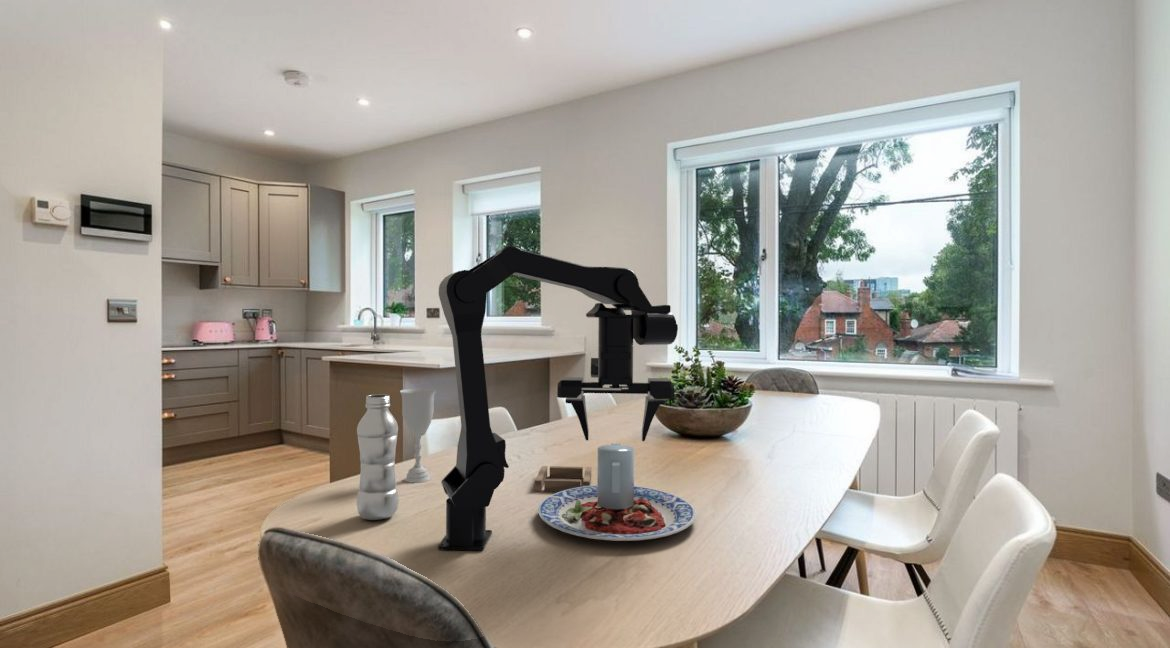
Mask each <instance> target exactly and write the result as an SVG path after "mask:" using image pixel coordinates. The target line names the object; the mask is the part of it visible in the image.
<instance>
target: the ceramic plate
mask: <svg viewBox="0 0 1170 648" xmlns="http://www.w3.org/2000/svg"><path fill="white" fill-rule="evenodd" d="M597 490H598V484H595V485H590V486H583V485H582V486H580V487H577V488H572V489H567V490H564V491H561V492H560V491H557V492H556V493H553V494H551V495H550V496H547V497H546V498H545V499H544V500H542V501H541V502H540V503H539V505H538V507H537V512H538V516H539V517H540V519H541V520H542V521H543V522H544V523H545V524H547V525H548V526H550V527H552V528H553V529H556V530H558V531H560V532H563V533H565V534H569V535H573V536H577V537H582V538H587V539H592V540H593V539H594V540H604V541H614V542H615V541H616V542H618V541H619V542H620V541H621V542H622V541H623V542H626V541H645V540H653V539H659V538H664V537H668V536H671V535H675V534H677V533H680V532H681V531H685V529H687V528H689V527H690V526H691V525H692V524H693V523H694V522H695V521H696V518H697V511H696V508H695V507H694V506H693V505H692V504H691V503H690V502H689V501H687V500H686V499H684V498H683V497H681V496H678V495H676V494H673V493H671V492H667V491H664V490H659V489H656V488H652V487H645V486H638V485H634V505H633V506H632V507H630V508H626V509H607V508H603V507H601V506H599V505H598V503H597Z"/></svg>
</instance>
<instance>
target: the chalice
mask: <svg viewBox="0 0 1170 648" xmlns="http://www.w3.org/2000/svg"><path fill="white" fill-rule="evenodd" d="M436 392H437V389H433V388H407V389H406V388H405V389H401V390H400V391H399V393H400V395H401V397H402V400H401V401H402V405H401V406H402V411H401V412H402V413H401V415H402V418H403V421H404V425H405V426H406V428H407V430H408V432H409V434H410V436H413V437H414V439H415V443H414V445H413V448H415V449H414V450H415V452H414V454H413V455H412V456H413V457H414V459H415V460H414V462H415V463H414V464H413V466H411V467H410V468H409V469H408V472H407V473H406V477H405V479H404V481H405V482H407V483H411V484H417V483H424V482H428V481H430V480H431V476H430V474H429V472H428V469H427V467H426V466H423V464H422V463H421V458H422V456H423V454H422V452H421V449H422V447H423V445H422V442H421V440H422V437H423V436H425V435H426V433H427V432H428V430H429V428H430V425H431V423H432V420H433V416H434V414H435V413H434V410H435V407H434V404H435V403H434V402H435V401H434V400H435V394H436Z"/></svg>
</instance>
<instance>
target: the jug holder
mask: <svg viewBox="0 0 1170 648" xmlns="http://www.w3.org/2000/svg"><path fill="white" fill-rule="evenodd" d="M583 470H584V467H583V466H558V465H557V466H554V465H553V466H552V465H551V466H549V478H548V466H546V465H541V467H540V468H539V471H538V474H537V476H536V477H535V479H534V491H535V492H541V491H542V490H544V492H561V491H564V490H567V489H572V488H577V487H581V479H583V481H582V484H583V485H582V487H583V486H591V483H592V482H591V481H592V466H585V470H584V472H583ZM559 478H560V479H559ZM543 487H544V489H543Z"/></svg>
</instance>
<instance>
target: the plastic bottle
mask: <svg viewBox="0 0 1170 648" xmlns="http://www.w3.org/2000/svg"><path fill="white" fill-rule="evenodd" d="M365 399H366V400H365V409H367V410H366V411H365V414H364V415H363V416H362V417H361V419H360V420H359V422H358V424H357V427H356V435H357V442H358V448H359V449H358V450H359V461H360V463H359V464H360V475H359V487H358V489H359V490H358V492H357V497H356V508H357V513H358V515H359V516H360V517H361V518H362V519H363V520H368V521H369V520H370V521H376V520H383V519H384V520H385V519H388V518H390V517H393V516H394V515H395V514H396V512H397V510H398V508H399V500H400V499H399V498H400V496H399V492H398V487H397V479H396V478H397V476H396V461H395V460H396V448H397V441H398V433H399V426H398V425H399V424H398V422H397V420H396V418H395V417H394V416H393V414H392V412H390V410H389V408H390V407H391V403H390V402H391V401H390V400H391V398H390V394H370V395H366V398H365Z"/></svg>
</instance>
